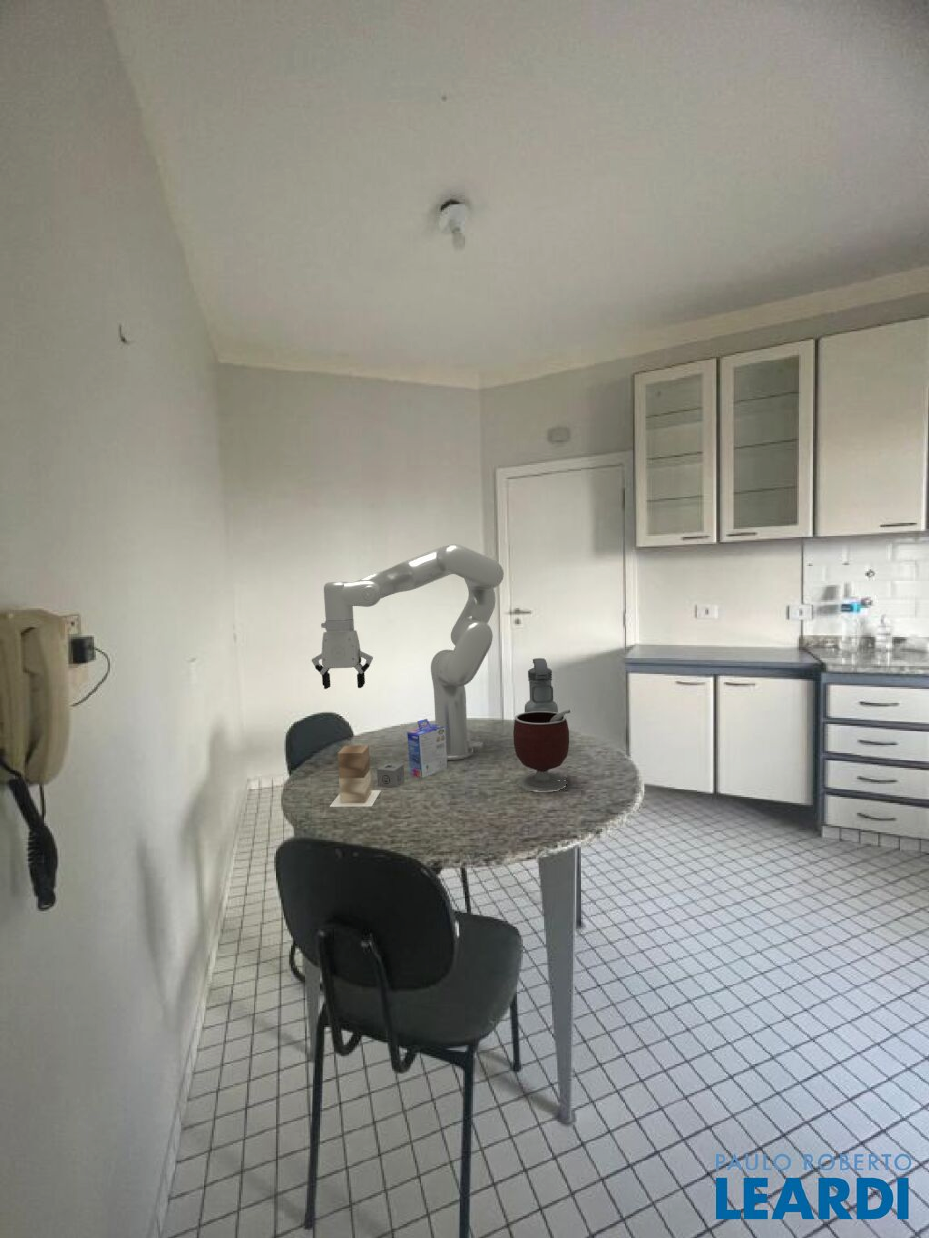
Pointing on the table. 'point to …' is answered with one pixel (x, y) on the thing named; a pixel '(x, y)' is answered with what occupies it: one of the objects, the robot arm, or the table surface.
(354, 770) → the walnut block
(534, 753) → the mate gourd
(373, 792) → the stone coaster
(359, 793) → the beech block
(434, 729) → the ink cartridge box
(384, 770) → the grey marked cube
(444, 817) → the table surface
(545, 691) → the water bottle
